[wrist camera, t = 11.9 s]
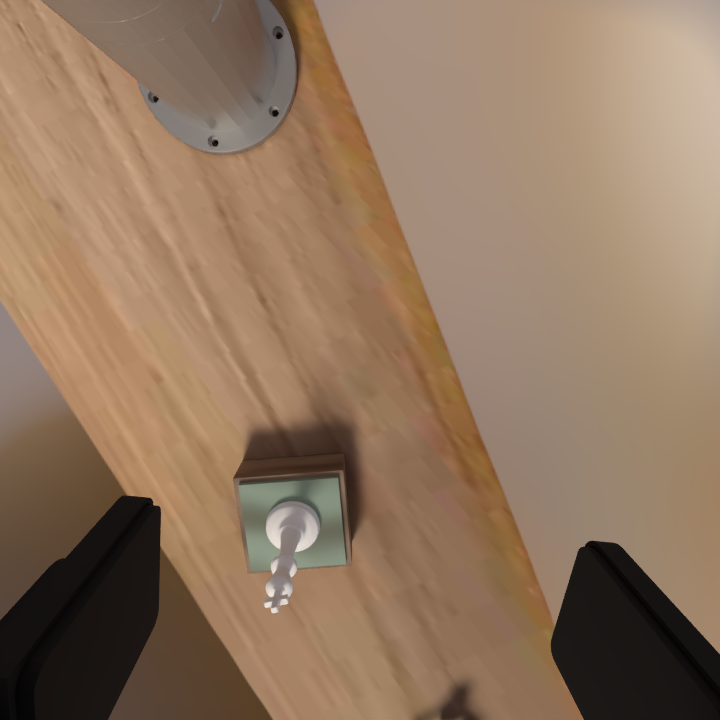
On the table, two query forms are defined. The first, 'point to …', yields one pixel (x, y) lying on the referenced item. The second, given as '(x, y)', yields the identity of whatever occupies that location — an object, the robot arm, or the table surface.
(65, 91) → the table surface
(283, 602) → the chess piece
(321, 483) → the pedestal
